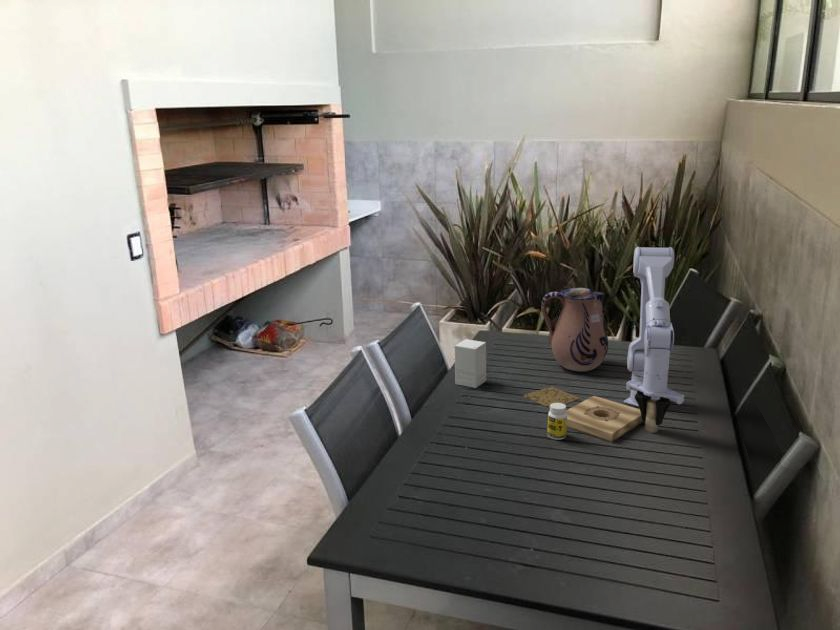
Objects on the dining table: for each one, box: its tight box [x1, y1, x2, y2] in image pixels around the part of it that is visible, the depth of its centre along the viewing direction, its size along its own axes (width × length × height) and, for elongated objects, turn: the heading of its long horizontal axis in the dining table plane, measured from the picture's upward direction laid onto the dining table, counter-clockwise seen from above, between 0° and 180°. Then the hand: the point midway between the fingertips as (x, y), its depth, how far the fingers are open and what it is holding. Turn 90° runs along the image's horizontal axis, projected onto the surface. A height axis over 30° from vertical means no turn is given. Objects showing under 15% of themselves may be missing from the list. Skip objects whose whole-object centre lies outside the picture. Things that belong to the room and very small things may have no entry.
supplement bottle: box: [546, 403, 568, 441], centre depth 173 cm, size 5×5×8 cm
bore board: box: [566, 395, 645, 443], centre depth 181 cm, size 18×16×2 cm
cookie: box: [523, 386, 582, 409], centre depth 198 cm, size 12×12×1 cm
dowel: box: [644, 399, 659, 434], centre depth 175 cm, size 3×3×8 cm
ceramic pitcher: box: [541, 287, 609, 373], centre depth 218 cm, size 18×21×25 cm
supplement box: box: [454, 338, 487, 389], centre depth 209 cm, size 7×7×13 cm
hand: (651, 421), depth 176 cm, fingers closed on dowel, 3 cm apart
